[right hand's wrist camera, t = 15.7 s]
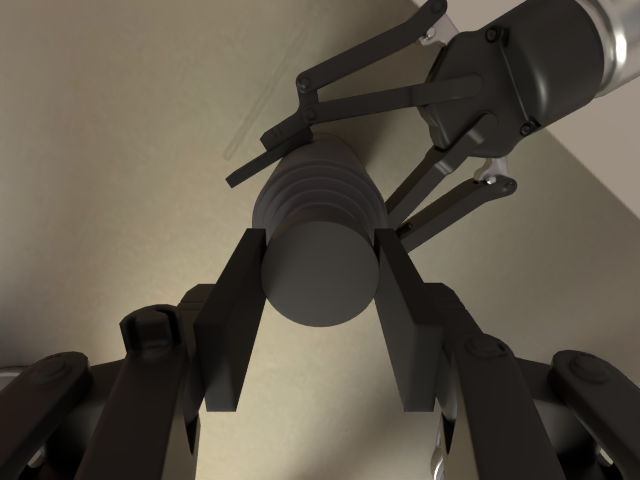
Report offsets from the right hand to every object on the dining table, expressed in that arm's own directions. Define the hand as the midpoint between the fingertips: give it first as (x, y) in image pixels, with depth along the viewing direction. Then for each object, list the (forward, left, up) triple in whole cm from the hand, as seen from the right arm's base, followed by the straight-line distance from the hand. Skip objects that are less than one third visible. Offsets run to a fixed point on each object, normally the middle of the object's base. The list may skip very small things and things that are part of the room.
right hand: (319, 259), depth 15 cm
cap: (0, 0, +1) cm, 1 cm away
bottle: (0, 0, -18) cm, 18 cm away
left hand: (-1, +5, -12) cm, 13 cm away
